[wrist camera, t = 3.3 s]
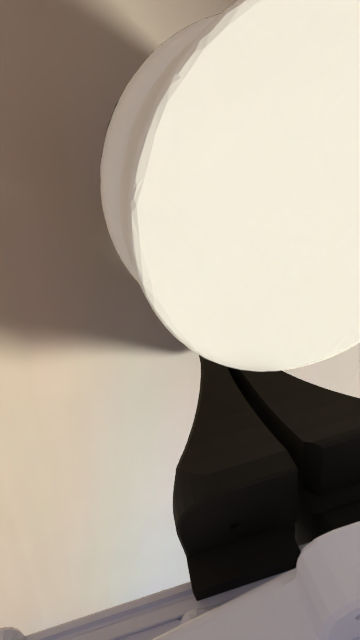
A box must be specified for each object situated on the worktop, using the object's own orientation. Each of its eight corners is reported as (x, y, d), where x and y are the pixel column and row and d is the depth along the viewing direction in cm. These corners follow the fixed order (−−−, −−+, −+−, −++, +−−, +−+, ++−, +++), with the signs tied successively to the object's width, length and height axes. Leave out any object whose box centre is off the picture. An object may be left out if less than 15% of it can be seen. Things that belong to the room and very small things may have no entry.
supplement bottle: (104, 81, 9) (47, -278, 2) (253, 99, 10) (661, -68, 2) (110, 243, 11) (100, 411, 4) (231, 246, 12) (408, 385, 5)
